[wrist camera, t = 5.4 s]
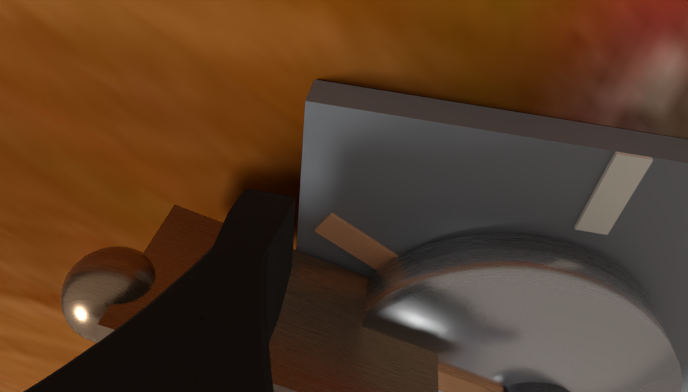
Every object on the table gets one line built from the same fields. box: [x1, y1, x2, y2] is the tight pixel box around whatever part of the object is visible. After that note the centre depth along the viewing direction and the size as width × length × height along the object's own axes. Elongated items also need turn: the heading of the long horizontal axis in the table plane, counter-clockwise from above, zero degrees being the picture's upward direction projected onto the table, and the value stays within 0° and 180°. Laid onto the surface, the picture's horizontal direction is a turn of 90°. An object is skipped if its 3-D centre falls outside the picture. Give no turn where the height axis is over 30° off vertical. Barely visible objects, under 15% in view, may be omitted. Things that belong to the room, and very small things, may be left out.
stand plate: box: [296, 80, 688, 392], centre depth 14 cm, size 13×13×1 cm
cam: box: [60, 205, 682, 392], centre depth 12 cm, size 14×8×4 cm, turn 69°
